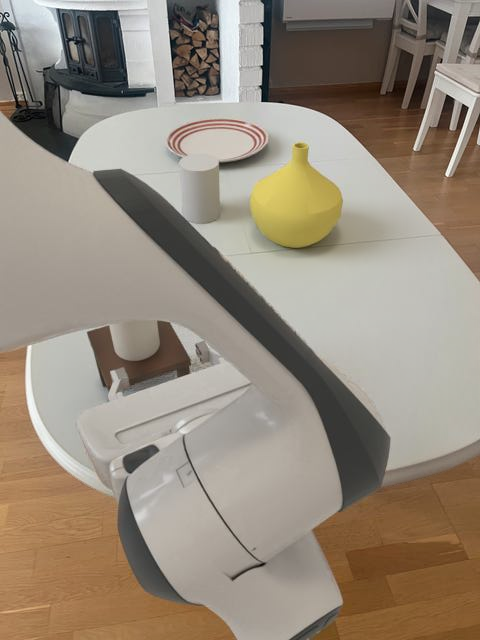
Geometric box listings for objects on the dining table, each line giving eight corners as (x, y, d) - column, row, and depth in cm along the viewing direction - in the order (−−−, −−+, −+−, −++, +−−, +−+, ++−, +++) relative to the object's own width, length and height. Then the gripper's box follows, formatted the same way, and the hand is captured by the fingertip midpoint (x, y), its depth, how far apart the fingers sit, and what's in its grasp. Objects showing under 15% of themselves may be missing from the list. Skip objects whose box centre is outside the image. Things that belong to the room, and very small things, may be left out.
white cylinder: (226, 210, 116) (226, 158, 108) (208, 227, 110) (205, 174, 102) (195, 201, 118) (192, 150, 110) (175, 217, 113) (171, 165, 105)
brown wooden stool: (119, 435, 70) (107, 386, 64) (99, 380, 78) (86, 331, 71) (194, 407, 74) (190, 358, 67) (168, 357, 81) (162, 309, 75)
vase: (264, 206, 117) (267, 121, 104) (345, 221, 112) (359, 133, 100) (236, 249, 104) (236, 158, 91) (326, 268, 99) (340, 174, 87)
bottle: (121, 366, 66) (96, 248, 54) (109, 337, 70) (83, 221, 58) (166, 352, 68) (151, 235, 56) (151, 324, 72) (134, 210, 60)
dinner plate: (194, 180, 126) (193, 167, 124) (150, 140, 144) (148, 128, 141) (288, 156, 136) (288, 144, 134) (236, 122, 154) (236, 110, 152)
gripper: (315, 397, 47) (248, 309, 57) (93, 485, 41) (58, 368, 50) (309, 438, 52) (247, 350, 61) (107, 524, 45) (72, 410, 54)
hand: (160, 359), depth 56 cm, fingers open, 8 cm apart
